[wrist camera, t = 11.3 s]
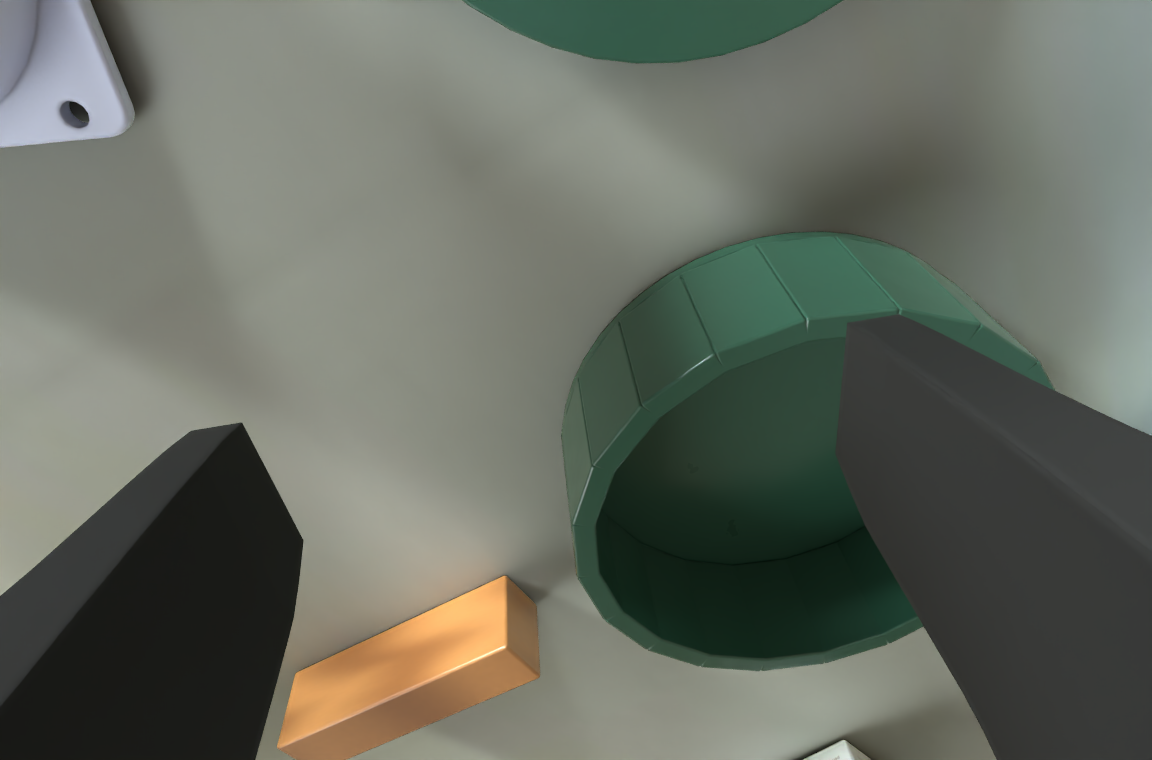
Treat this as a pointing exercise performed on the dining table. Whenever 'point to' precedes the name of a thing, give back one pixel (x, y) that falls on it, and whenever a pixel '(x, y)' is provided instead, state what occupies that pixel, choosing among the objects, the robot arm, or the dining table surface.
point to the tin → (745, 452)
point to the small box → (839, 753)
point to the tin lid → (651, 25)
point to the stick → (413, 674)
